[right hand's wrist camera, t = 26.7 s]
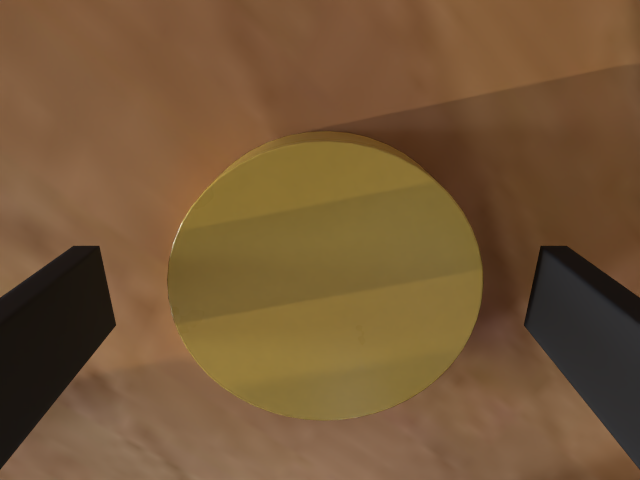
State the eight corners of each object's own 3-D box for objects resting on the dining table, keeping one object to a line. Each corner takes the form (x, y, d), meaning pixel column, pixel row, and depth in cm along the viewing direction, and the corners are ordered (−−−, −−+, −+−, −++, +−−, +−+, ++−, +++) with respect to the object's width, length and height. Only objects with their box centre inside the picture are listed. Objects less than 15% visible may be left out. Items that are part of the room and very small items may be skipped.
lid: (135, 196, 13) (104, 217, 11) (415, 81, 12) (433, 82, 10) (258, 408, 16) (250, 451, 14) (490, 334, 15) (514, 371, 13)
